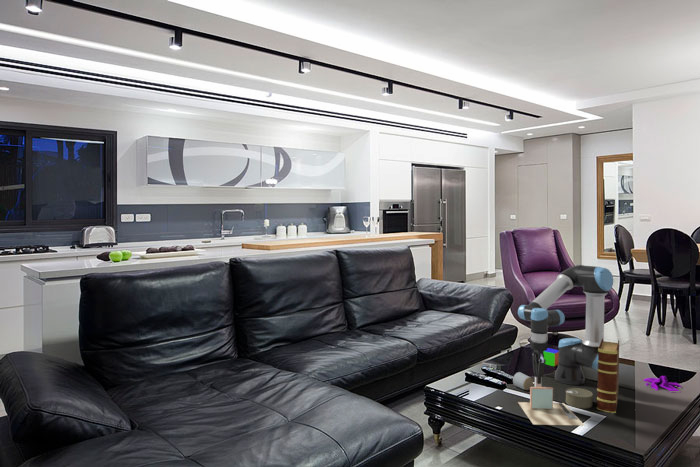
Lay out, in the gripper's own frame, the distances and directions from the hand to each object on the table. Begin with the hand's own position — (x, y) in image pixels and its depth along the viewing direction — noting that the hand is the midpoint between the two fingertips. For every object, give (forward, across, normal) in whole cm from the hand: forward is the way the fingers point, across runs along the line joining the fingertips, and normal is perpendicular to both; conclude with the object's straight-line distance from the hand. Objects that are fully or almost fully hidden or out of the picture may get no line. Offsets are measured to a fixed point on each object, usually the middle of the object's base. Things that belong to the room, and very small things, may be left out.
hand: (538, 389), depth 232 cm
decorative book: (+9, -4, +34) cm, 35 cm away
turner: (+7, +8, +11) cm, 15 cm away
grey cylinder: (+9, -25, +1) cm, 27 cm away
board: (+9, +10, +2) cm, 13 cm away
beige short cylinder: (+9, -2, +20) cm, 22 cm away
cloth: (+9, -31, +74) cm, 81 cm away
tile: (+7, +5, 0) cm, 9 cm away
